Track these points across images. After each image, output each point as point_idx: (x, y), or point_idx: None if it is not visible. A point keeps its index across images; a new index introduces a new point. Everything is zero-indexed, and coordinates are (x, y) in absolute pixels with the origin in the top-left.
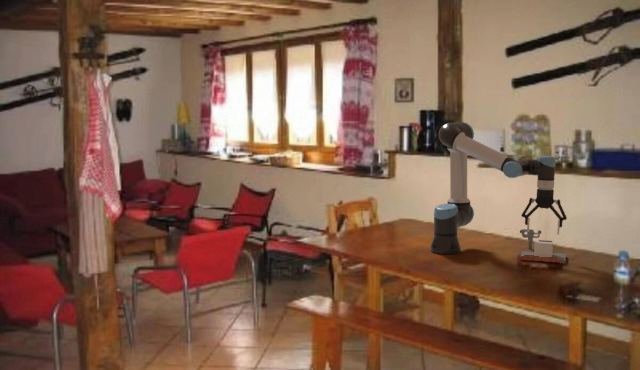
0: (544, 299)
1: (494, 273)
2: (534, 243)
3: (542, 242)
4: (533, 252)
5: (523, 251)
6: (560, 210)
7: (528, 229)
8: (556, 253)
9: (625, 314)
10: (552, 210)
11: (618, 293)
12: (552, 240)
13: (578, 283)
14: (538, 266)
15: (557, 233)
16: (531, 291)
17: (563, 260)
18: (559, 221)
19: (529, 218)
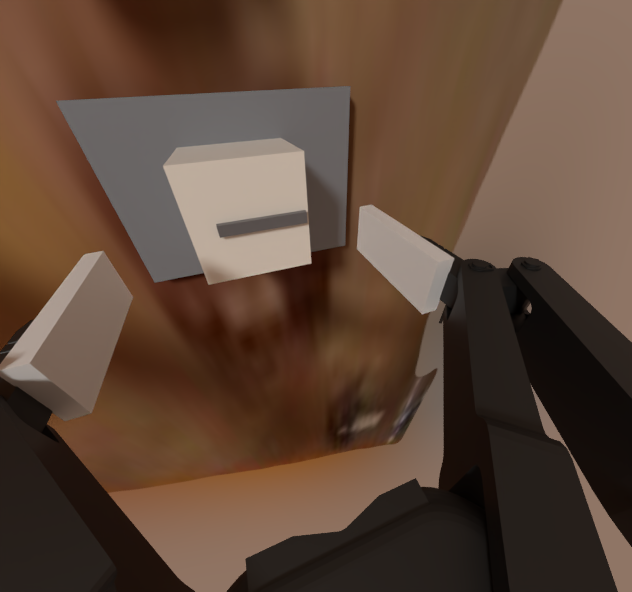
0: (310, 454)
1: (169, 425)
2: (208, 281)
3: (252, 259)
4: (157, 123)
5: (73, 115)
6: (551, 409)
7: (123, 314)
8: (300, 96)
9: (397, 434)
10: (450, 444)
11: (413, 387)
12: (303, 162)
13: (361, 381)
14: (257, 315)
15: (361, 252)
16: (287, 447)
17: (337, 245)
18: (430, 306)
19: (70, 396)
